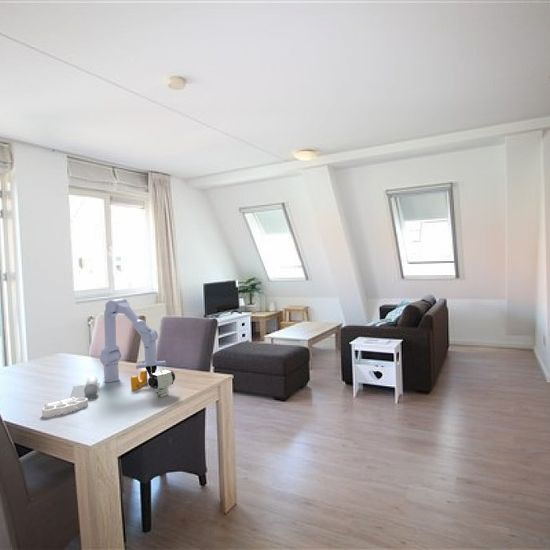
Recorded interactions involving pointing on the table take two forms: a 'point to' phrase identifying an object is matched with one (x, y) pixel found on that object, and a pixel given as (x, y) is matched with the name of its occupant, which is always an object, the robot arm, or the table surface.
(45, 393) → the table surface
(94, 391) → the duct pipe
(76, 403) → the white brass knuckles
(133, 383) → the orange notched block
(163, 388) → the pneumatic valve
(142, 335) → the robot arm
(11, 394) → the table surface
